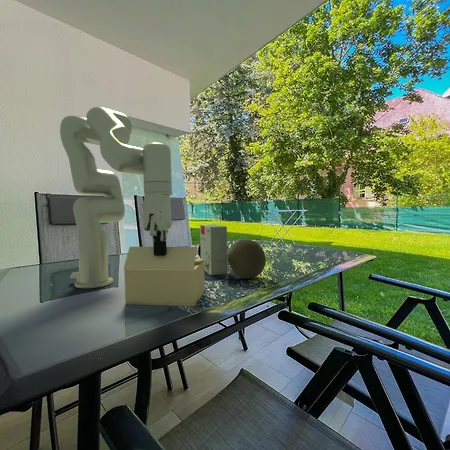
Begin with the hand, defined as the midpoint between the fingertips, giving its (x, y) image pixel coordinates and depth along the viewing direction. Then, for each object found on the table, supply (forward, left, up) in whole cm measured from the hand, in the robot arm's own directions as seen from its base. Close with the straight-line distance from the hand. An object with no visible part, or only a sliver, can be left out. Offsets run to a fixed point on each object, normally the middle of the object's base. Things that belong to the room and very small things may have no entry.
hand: (160, 255), depth 76 cm
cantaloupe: (+23, +29, -14) cm, 40 cm away
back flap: (0, +9, -3) cm, 10 cm away
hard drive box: (+8, +42, -14) cm, 45 cm away
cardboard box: (0, +6, -14) cm, 15 cm away
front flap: (0, +1, -1) cm, 1 cm away
